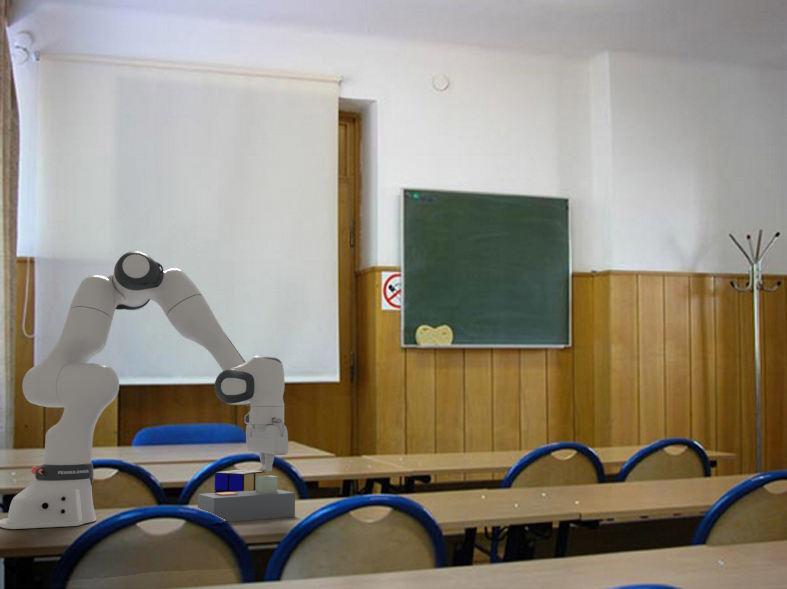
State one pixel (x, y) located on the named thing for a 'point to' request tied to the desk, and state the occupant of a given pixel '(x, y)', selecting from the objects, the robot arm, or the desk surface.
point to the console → (249, 505)
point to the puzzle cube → (236, 480)
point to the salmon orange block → (226, 494)
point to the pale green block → (266, 484)
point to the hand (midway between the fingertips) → (266, 470)
